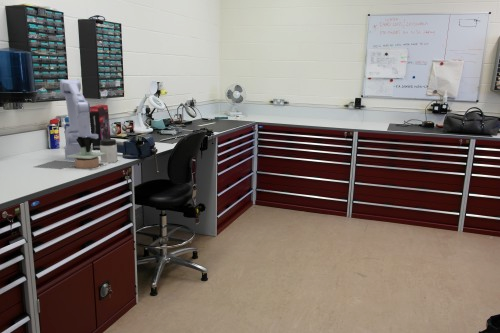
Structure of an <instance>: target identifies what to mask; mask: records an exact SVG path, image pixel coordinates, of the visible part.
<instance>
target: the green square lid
mask: <svg viewBox="0 0 500 333" xmlns="http://www.w3.org/2000/svg"><path fill="white" fill-rule="evenodd" d="M105 154H106V153H100V152H97V151H95V152H94V151H93V152H92V148H91V149H90V152H86V147H82V148H81V152H80V153H76V154H72V155H69V156H66V157H67V158H84V159H92V158H95V157H98V158H99V157H101V156H102V155H105Z"/></svg>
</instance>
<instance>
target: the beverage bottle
mask: <svg viewBox="0 0 500 333" xmlns="http://www.w3.org/2000/svg"><path fill="white" fill-rule="evenodd" d="M64 123H65V124H64V127H63V129H64V134H65V131H66V129H67V128H68V127H70V125H69V118H68V116H65V117H64ZM76 132H78V131H76ZM66 144H67V143H66V142H65V145H66Z"/></svg>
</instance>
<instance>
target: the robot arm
mask: <svg viewBox="0 0 500 333" xmlns="http://www.w3.org/2000/svg"><path fill="white" fill-rule="evenodd" d="M59 90H60V94H61V96H62V97H64V99H65V104H66V110H67V117H68V118H69V125H70V127H68V128H67V129H66V131H65V130H64V131H65V133H64V136H65V145H64V157H65V158H64V161H75V158H67V157H66V156H69V155H72V154H76V153H80V152H81V148H82V147H86V152H90V149H91V150H92V142H93V140H94V138H95V139H97V138H99V137H98V134H91V127H90V117H89V113H90V107H91V105H90V102H89V101H88V100H86V98H85V96H84V95H83V93H81V92H80V91H81V90H82V83H81V80H80V79H78V78H77V79H63V78H61V79H60V80H59ZM76 131H78V132H76ZM66 143H67V144H66Z"/></svg>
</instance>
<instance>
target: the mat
mask: <svg viewBox="0 0 500 333" xmlns="http://www.w3.org/2000/svg"><path fill="white" fill-rule="evenodd" d="M72 166H73V167H74V166H75V161H72V160H52V161H49V162H45V163H41V164H38V165H36V166H34V168H40V169H41V168H42V169H54V170H64V169H66V168H70V167H72Z"/></svg>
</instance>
